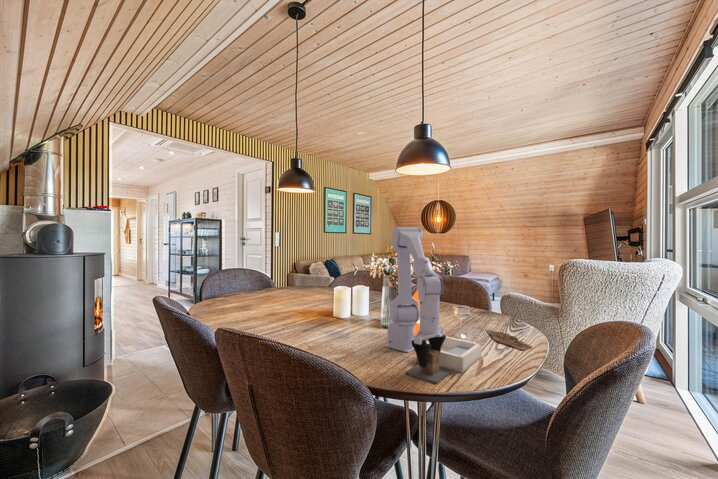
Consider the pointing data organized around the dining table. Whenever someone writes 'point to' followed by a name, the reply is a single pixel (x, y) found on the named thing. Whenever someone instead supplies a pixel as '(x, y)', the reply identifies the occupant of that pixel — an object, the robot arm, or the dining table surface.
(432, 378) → the place mat
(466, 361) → the box
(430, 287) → the robot arm
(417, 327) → the orange juice
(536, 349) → the dining table surface
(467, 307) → the wineglass
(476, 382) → the dining table surface
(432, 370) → the walnut block
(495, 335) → the wooden fragment
